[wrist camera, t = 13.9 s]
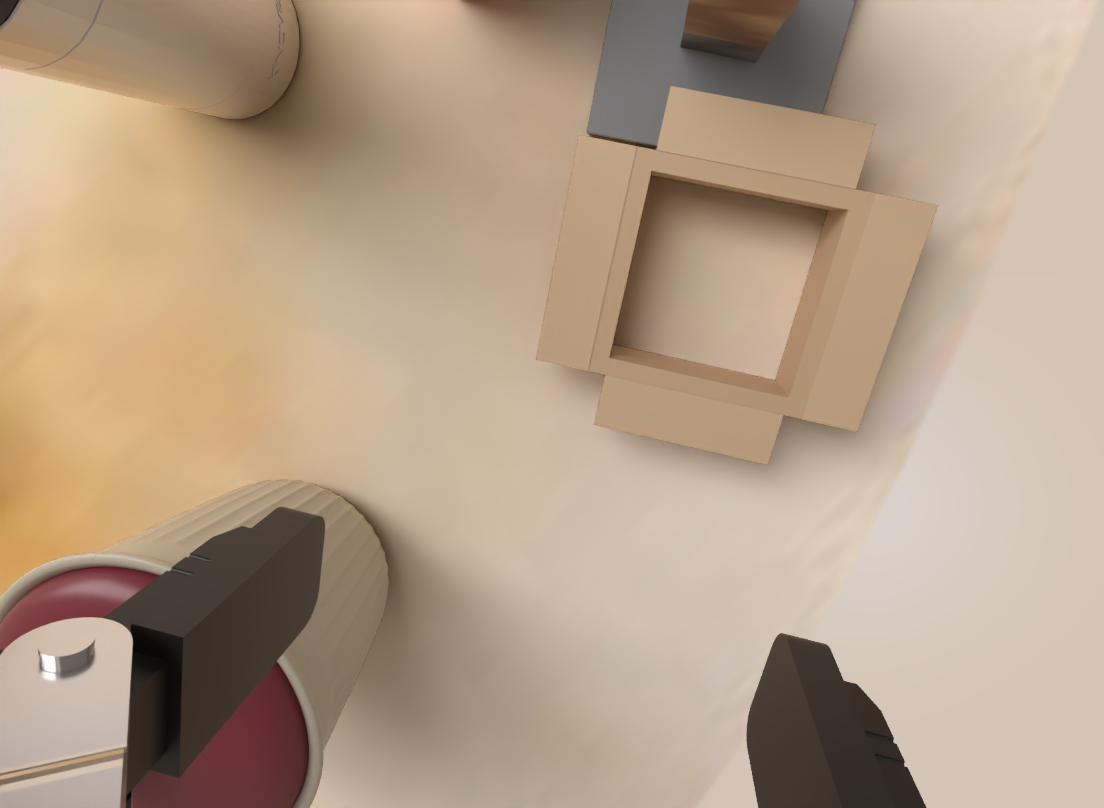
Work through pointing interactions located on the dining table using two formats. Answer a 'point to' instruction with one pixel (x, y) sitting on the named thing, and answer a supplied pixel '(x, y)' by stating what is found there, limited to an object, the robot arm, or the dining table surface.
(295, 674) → the canister
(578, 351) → the carton
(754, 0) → the walnut block
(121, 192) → the dining table surface
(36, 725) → the robot arm
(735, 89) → the mat
